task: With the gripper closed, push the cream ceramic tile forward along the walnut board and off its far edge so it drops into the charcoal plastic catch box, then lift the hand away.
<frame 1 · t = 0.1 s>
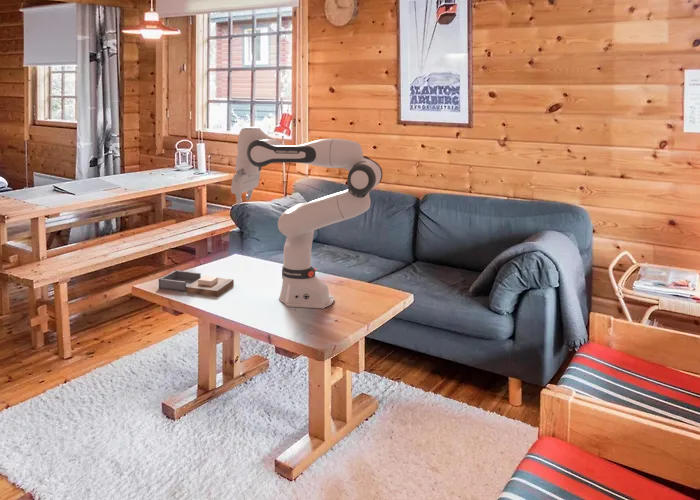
hand: (243, 201, 257), 39 cm above the table, fingers open, 8 cm apart
catch box: (180, 284, 272), on the table
board: (210, 288, 269), on the table
tile: (208, 282, 269), point 2 cm above the table, touching board
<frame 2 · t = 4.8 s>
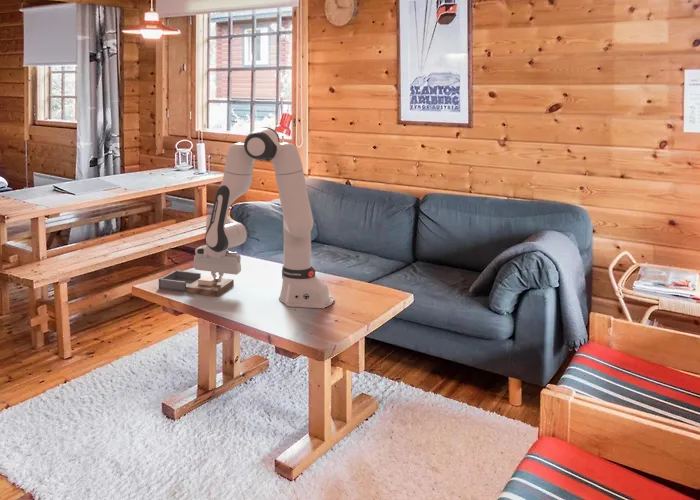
hand: (217, 281, 268), 3 cm above the table, fingers closed
tile: (208, 282, 269), point 2 cm above the table, touching board, gripper
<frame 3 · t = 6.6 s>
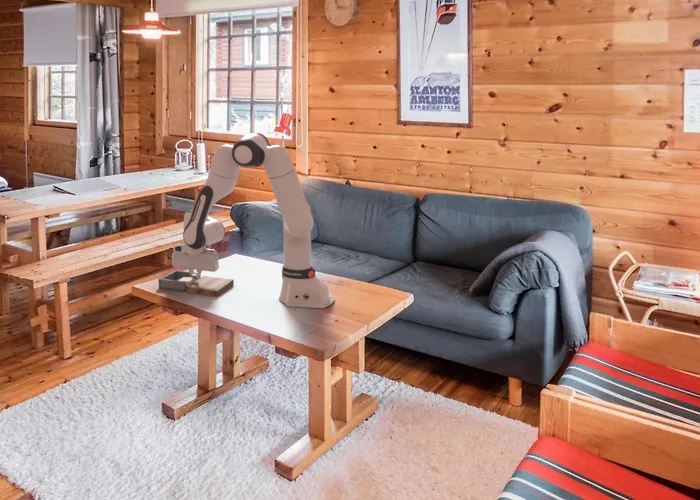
hand: (195, 279, 270), 4 cm above the table, fingers closed
tile: (186, 283, 271), point 1 cm above the table, tilted 6°
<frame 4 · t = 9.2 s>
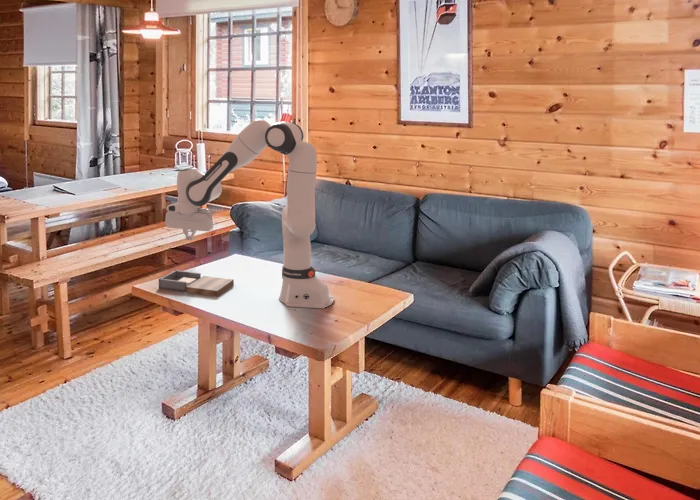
hand: (189, 239, 266), 20 cm above the table, fingers closed
tile: (186, 284, 272), point 1 cm above the table, touching catch box
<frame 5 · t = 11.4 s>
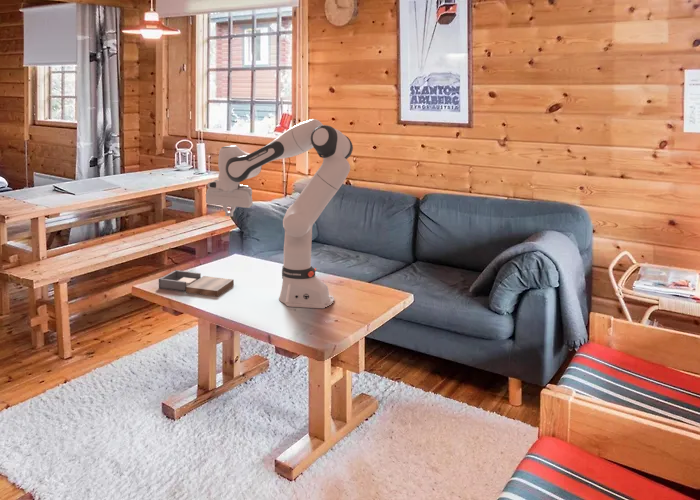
hand: (229, 216, 273), 29 cm above the table, fingers closed
nothing on the table moved.
at the end: tile inside the target area on the catch box (2.9 cm from its centre), point 0.6 cm above the catch box's base; the gripper is holding nothing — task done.
